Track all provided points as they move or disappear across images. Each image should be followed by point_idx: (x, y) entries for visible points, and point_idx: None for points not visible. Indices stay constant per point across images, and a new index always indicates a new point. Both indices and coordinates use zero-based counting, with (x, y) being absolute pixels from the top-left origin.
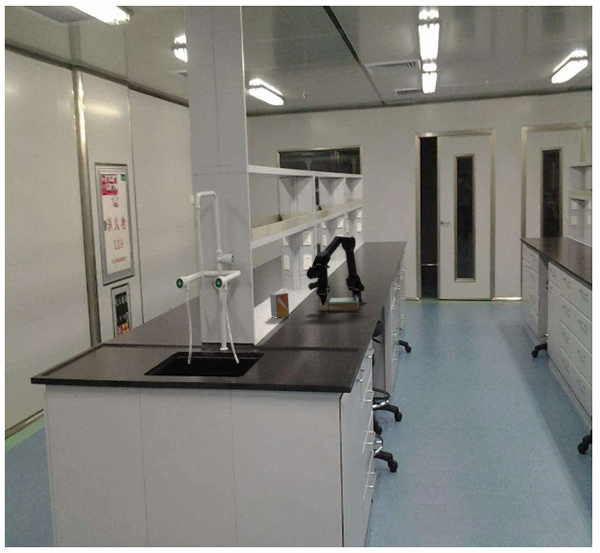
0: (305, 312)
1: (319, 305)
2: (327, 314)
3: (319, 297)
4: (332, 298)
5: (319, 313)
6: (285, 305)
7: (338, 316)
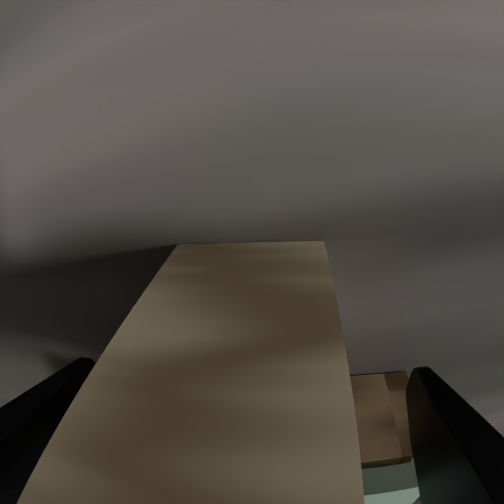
0: (38, 49)
1: (143, 294)
2: (14, 340)
3: (52, 458)
4: (394, 501)
5: (15, 266)
6: None
7: (7, 394)
